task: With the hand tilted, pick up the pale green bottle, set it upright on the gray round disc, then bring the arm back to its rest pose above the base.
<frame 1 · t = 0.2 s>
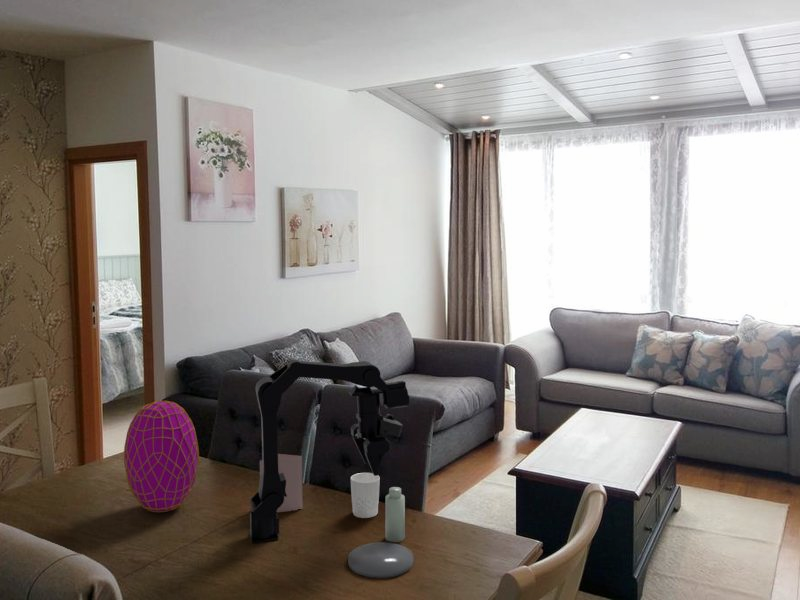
hand: (371, 469, 175), 14 cm above the table, tool pointing down, fingers open, 9 cm apart
decorative egg: (163, 509, 185), on the table
pale green bottle: (395, 537, 168), on the table
white cup: (365, 514, 183), on the table
gray round disc: (380, 561, 155), on the table
greeting card: (279, 511, 184), on the table
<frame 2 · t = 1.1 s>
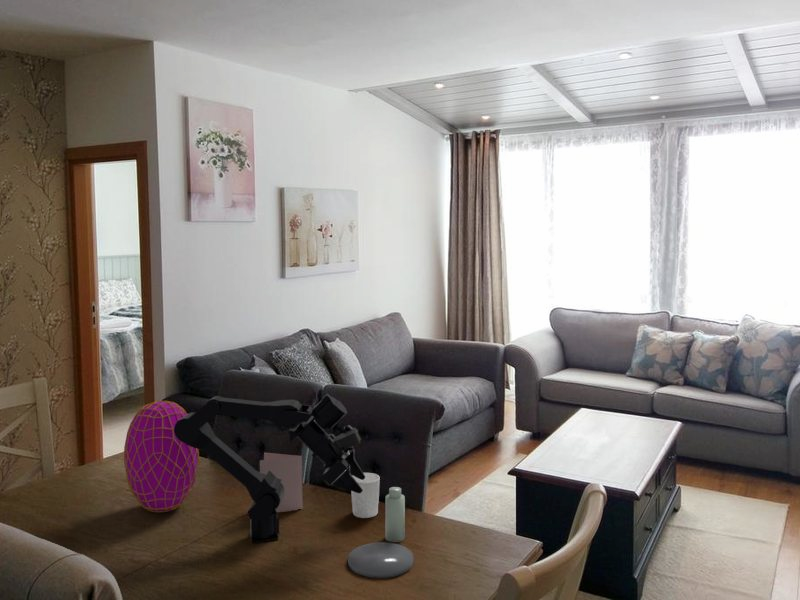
hand: (362, 485, 167), 13 cm above the table, tool tilted 45°, fingers open, 9 cm apart
nothing on the table moved.
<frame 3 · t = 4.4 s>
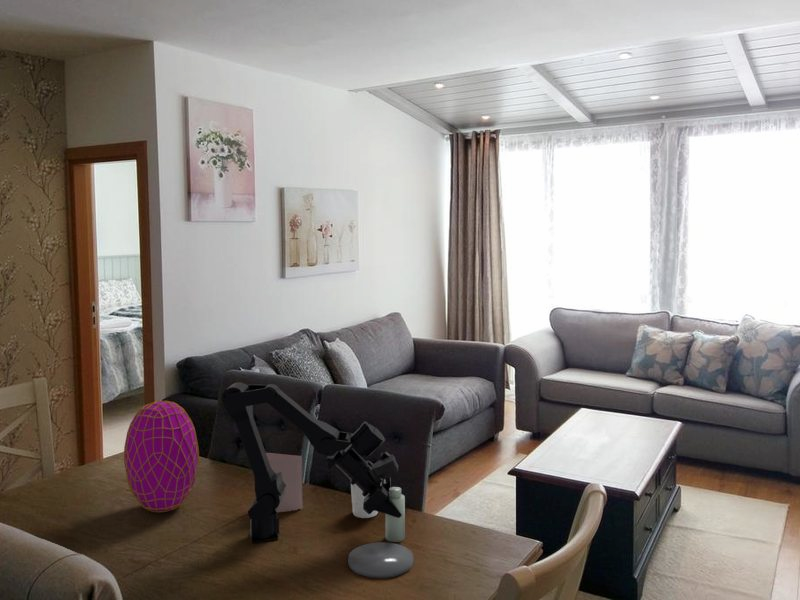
hand: (400, 512, 167), 7 cm above the table, tool tilted 45°, fingers closed on pale green bottle, 5 cm apart
pale green bottle: (395, 537, 168), on the table, touching gripper
everything else where it was.
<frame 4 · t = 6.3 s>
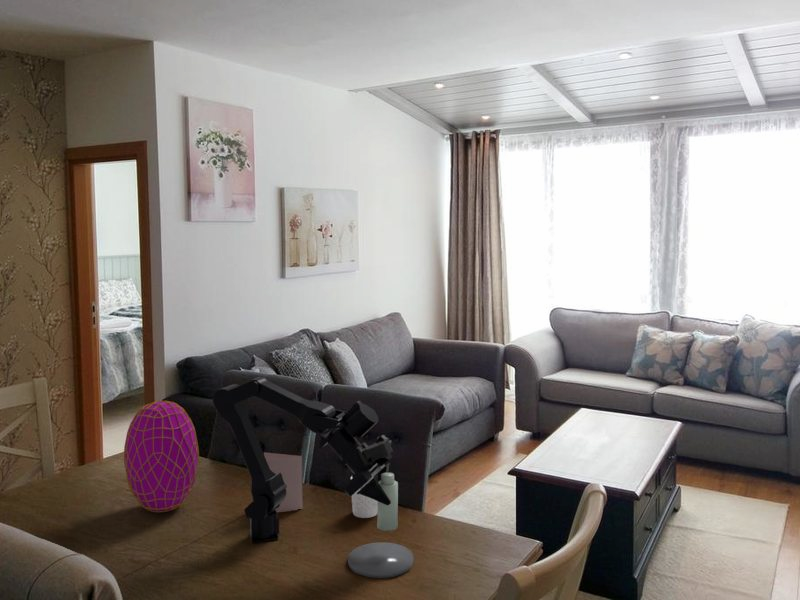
hand: (393, 500, 157), 13 cm above the table, tool tilted 45°, fingers closed on pale green bottle, 5 cm apart
pale green bottle: (387, 526, 158), point 7 cm above the table, touching gripper
everything else where it was.
when the fingers open (9 cm above the table, at t = 8.2 s): pale green bottle drops 1 cm, resting on gray round disc.
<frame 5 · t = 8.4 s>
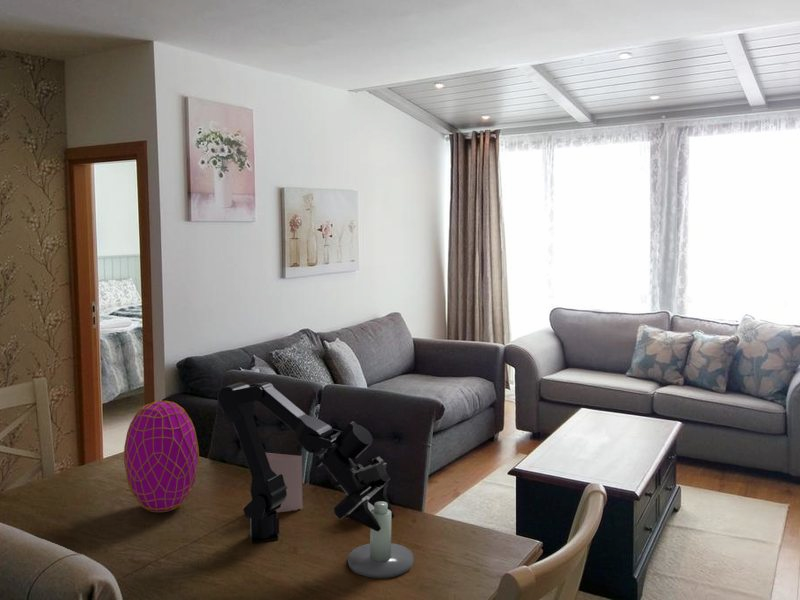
hand: (386, 524, 154), 9 cm above the table, tool tilted 45°, fingers open, 7 cm apart
pale green bottle: (380, 556, 155), point 1 cm above the table, touching gray round disc
everything else where it was.
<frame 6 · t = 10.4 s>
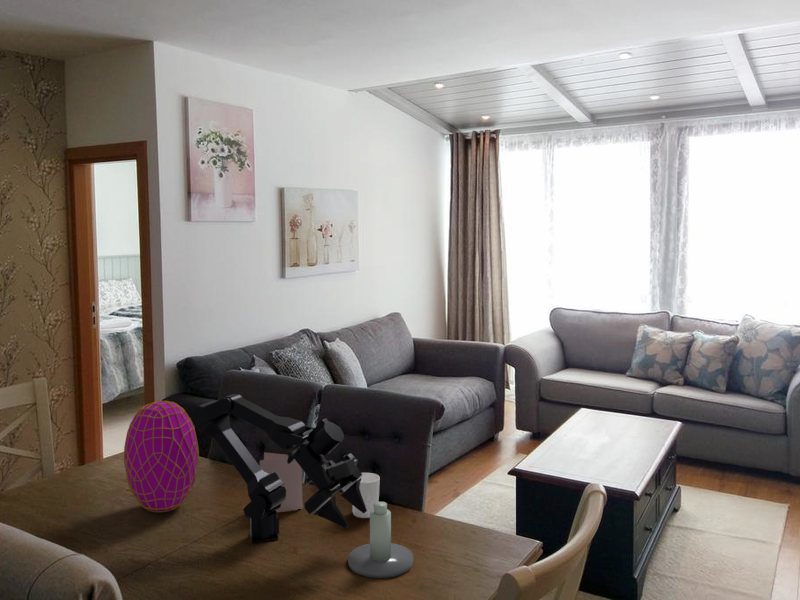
hand: (356, 519, 157), 9 cm above the table, tool tilted 45°, fingers open, 9 cm apart
nothing on the table moved.
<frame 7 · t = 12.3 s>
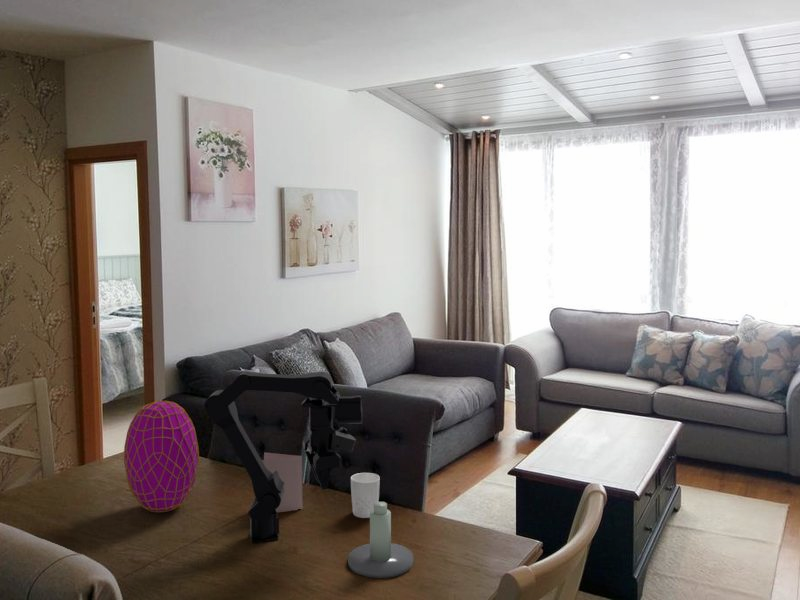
hand: (321, 485, 168), 13 cm above the table, tool pointing down, fingers open, 6 cm apart
nothing on the table moved.
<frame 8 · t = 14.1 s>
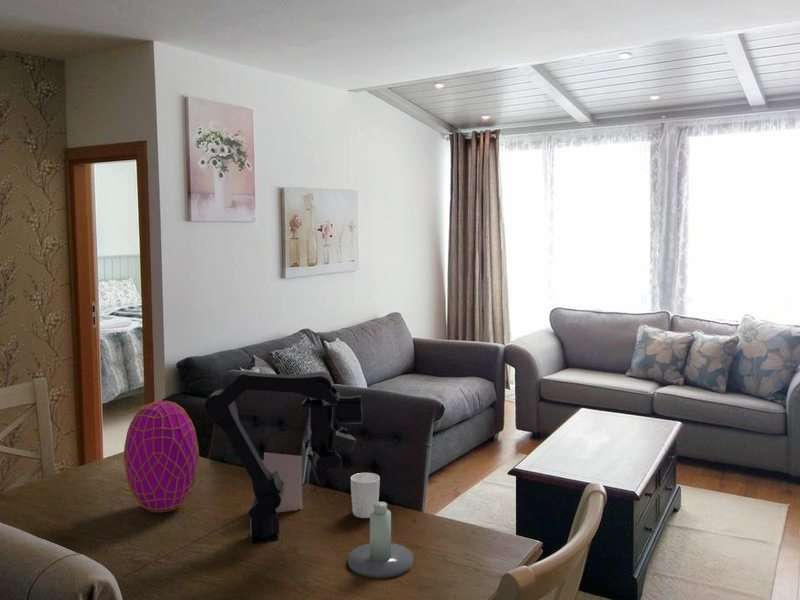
hand: (321, 485, 168), 13 cm above the table, tool pointing down, fingers closed
nothing on the table moved.
at the end: pale green bottle inside the target area on the gray round disc (0.1 cm from its centre), point 1.2 cm above the gray round disc's base; pale green bottle tilted 0°; the gripper is holding nothing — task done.
